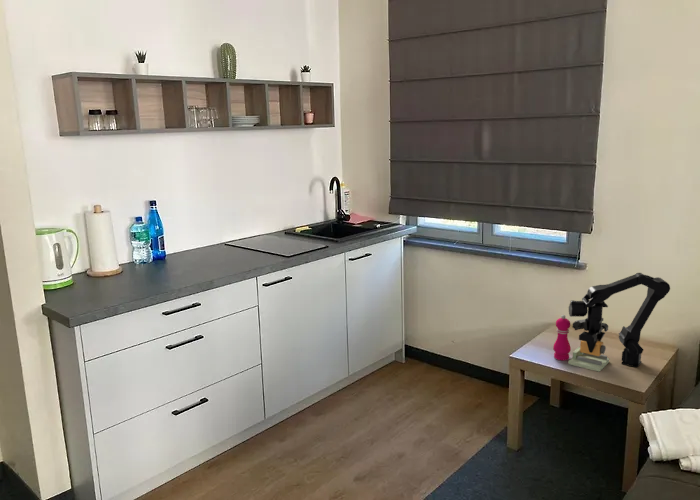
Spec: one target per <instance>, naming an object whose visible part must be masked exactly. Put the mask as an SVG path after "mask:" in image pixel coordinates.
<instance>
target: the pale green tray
mask: <svg viewBox="0 0 700 500" xmlns="http://www.w3.org/2000/svg"><path fill="white" fill-rule="evenodd" d="M609 362H610V358H608V356H607V355H605V354H601V355H600V356H595V355H591V354H586V353H582V352H580V346H578V347H576V349H575V350H573V351H572V357H571V358H569V359H568V362H567V363H568V365H571V366H575V367H578V368H579V367H580V368H583V369H587V370H591V371H596V372H601V371H602V370H603V369H604V367H606V366H607V364H609Z"/></svg>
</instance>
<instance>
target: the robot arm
mask: <svg viewBox="0 0 700 500" xmlns="http://www.w3.org/2000/svg"><path fill="white" fill-rule="evenodd" d="M640 285H642V286H645V287H646V288H647V291H646V297H645V298H644V300H643V302H642V304H641V306H640V307H639V309H638V311H637V312H636V314H635V316H634V318H633V319H632V320H631V323H630V324H629V325H628V326H622V327H621V331H619V332H618V340H619V342H620V343H621V344H622V346H623V347H624V348H623V351H621V361H622V362H621V365H626V366H629V367H634V368H638V367H639V366H640V365H641V364H642V362H643V361H642V359H641V358H642V354H643V352H644V348H643V347H642V346H641V345H640V344H639V342H640V339H641V332H642V330H643V328H644V326H645V325H646V323H647V322H648V320H649V318H650V316H651V315H652V313H653V311H654V309H655V308H656V306H657V304H658V303H659V301H661V300H663V299H664V298H665V297H666V296H667V295H668V294H669V292H670V290H671V286H670V284H669V283H668V282H667V281H666V280H664V279H663V278H661V277H653V276H650V275H648V274H644V273H642V272H637V273H634V274H632V275H630V276H628V277H624V278H622V279H620V280H616V281H613V282H611V283H606V284H598V285H592V286H590V287H588V290H587V292H586V294H585V295H584V296H583V297H582V298H581V300H570V303H569V304H568V315H569V317H573V318H574V317H580V318H581V317H583V318H584V317H585V316H587V317H586V318H584V319H578V320H575V321H574V322H572V326H571V327H572V328H573V329H574V331H578V330H583V331H582V332H581V333H580V334H579V335H578V340H579V341H581V340H582V341H586V342H587V345H588V349H589V352H591V353H592V352H593V350H594V348H595V346H596V344H597V342H598V341H601V342H602V339H603V338H604V336H605V334H606V332H608V331H609V325H608V324H607V322H604V317H603V308H608V307H609V304H607V303H606V302H605V301H606V300H608V299H609V298H610V297H612V296H613V295H615V294H617V293H621V292H624V291H626V290H629V289H631V288H634V287H637V286H640ZM603 330H604V332H603Z"/></svg>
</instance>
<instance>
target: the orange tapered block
mask: <svg viewBox="0 0 700 500" xmlns="http://www.w3.org/2000/svg"><path fill="white" fill-rule="evenodd" d="M606 349H607V348H606V345H604V341H602V340H601V341H598V342H597V344H596V346H595V348H594V350H593V352H592V353H591V352H589V349H588V345H587V342H586V341H582V340H580V352H582V353H586V354H591V355H595V356H600V355H605V352H606Z"/></svg>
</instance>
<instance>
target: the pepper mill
mask: <svg viewBox="0 0 700 500" xmlns="http://www.w3.org/2000/svg"><path fill="white" fill-rule="evenodd" d="M555 327H556V332H557V337H556V340H555V342H554V344H553V352H554V354H553V357H554V359H555V360H558V361H563V362H564V361H569V360H570V353H571V352H572V351H571V345H570V342H569V339H568V334H569V332H570V328H571V322H570V320H569V319H568V318H566V315H564V314H561V316H560V318H557V319H556V321H555Z"/></svg>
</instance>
